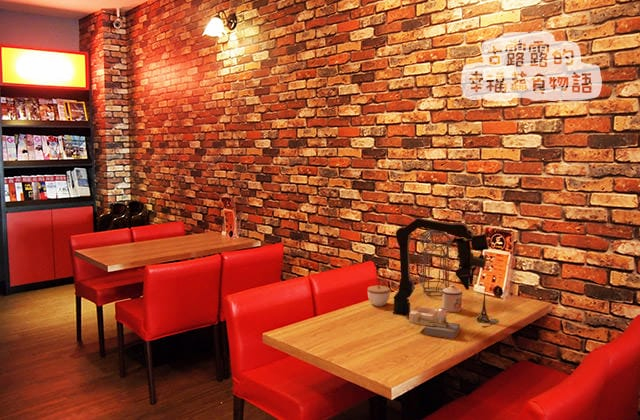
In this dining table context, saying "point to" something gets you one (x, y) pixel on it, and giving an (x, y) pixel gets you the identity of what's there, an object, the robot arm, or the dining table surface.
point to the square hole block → (424, 313)
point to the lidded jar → (378, 295)
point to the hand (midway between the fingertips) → (469, 286)
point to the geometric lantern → (434, 255)
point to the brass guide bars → (418, 318)
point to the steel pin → (442, 316)
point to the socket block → (443, 330)
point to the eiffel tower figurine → (486, 316)
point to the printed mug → (452, 299)
